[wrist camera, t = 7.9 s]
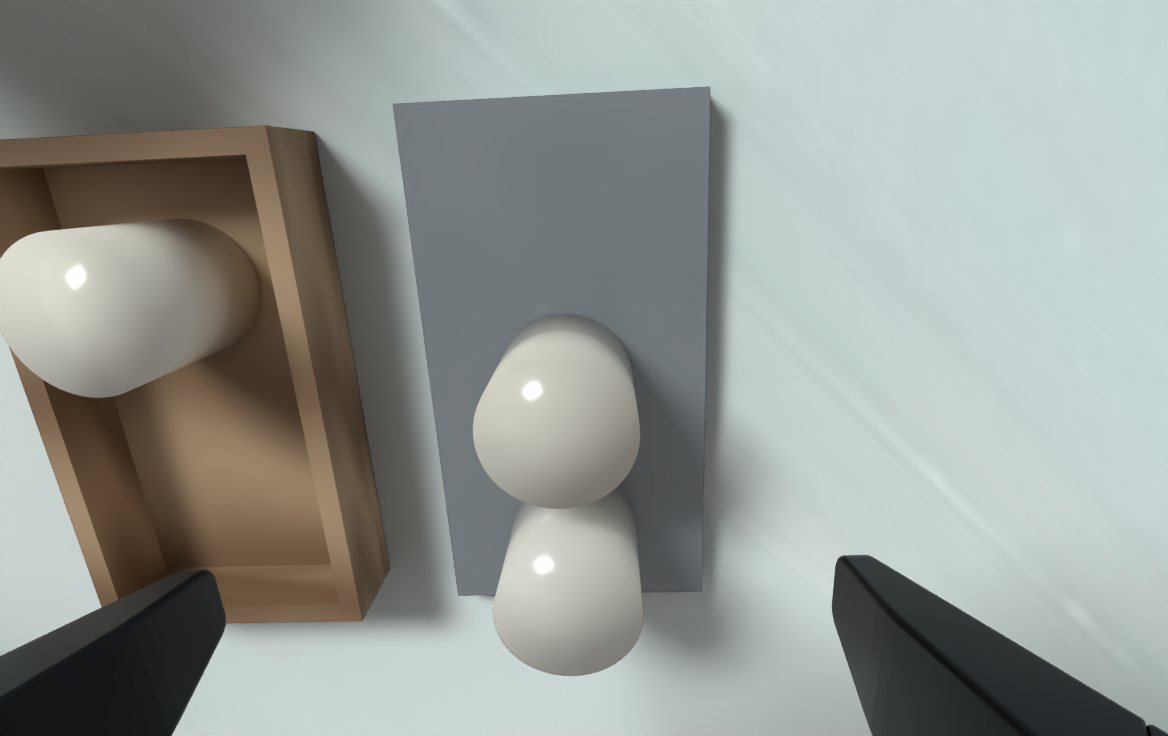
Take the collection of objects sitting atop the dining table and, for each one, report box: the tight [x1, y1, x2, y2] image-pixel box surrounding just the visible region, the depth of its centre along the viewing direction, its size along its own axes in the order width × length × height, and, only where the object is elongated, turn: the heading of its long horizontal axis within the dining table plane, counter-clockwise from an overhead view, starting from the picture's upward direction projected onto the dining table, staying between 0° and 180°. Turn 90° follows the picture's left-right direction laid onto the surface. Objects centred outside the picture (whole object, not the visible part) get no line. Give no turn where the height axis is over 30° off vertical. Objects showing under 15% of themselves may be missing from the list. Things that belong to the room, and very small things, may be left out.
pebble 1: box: [0, 219, 261, 398], centre depth 15 cm, size 4×4×4 cm
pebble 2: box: [473, 313, 640, 509], centre depth 16 cm, size 4×4×4 cm
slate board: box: [393, 87, 710, 596], centre depth 18 cm, size 15×8×1 cm, turn 3°
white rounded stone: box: [493, 488, 643, 676], centre depth 17 cm, size 4×4×4 cm
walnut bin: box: [0, 126, 390, 623], centre depth 18 cm, size 14×8×2 cm, turn 3°
